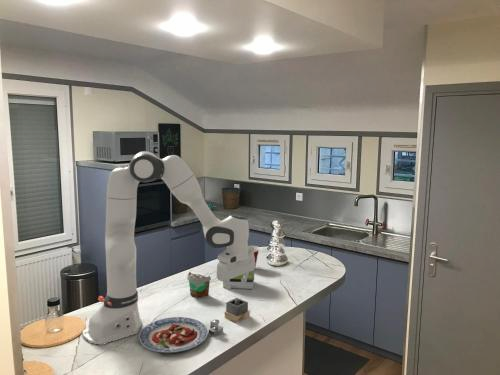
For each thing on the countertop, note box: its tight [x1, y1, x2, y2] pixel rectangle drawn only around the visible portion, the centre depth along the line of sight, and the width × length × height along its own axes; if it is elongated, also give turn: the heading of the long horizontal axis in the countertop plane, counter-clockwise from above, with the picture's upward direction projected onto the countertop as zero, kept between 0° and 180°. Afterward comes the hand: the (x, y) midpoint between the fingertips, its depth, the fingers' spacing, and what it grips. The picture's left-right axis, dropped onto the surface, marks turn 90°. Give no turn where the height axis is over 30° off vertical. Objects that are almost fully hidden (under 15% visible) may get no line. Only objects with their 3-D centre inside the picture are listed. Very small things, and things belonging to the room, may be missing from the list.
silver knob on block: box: [208, 319, 224, 338], centre depth 158 cm, size 5×3×5 cm, turn 139°
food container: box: [186, 271, 212, 299], centre depth 191 cm, size 12×6×10 cm, turn 62°
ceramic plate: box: [138, 316, 209, 354], centre depth 155 cm, size 26×26×3 cm
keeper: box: [224, 298, 251, 324], centre depth 171 cm, size 8×7×8 cm
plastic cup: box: [248, 245, 260, 268], centre depth 227 cm, size 11×11×12 cm
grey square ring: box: [225, 297, 249, 316], centre depth 171 cm, size 6×6×4 cm
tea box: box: [222, 269, 255, 290], centre depth 204 cm, size 15×10×15 cm, turn 84°
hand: (236, 285), depth 170 cm, fingers open, 8 cm apart
